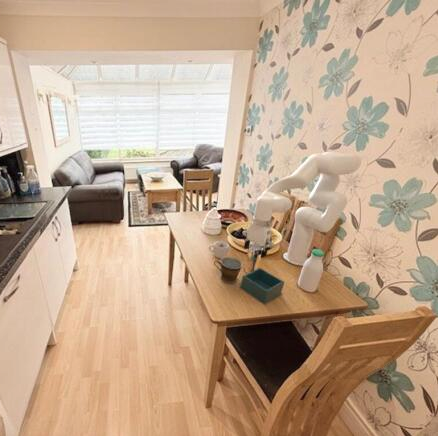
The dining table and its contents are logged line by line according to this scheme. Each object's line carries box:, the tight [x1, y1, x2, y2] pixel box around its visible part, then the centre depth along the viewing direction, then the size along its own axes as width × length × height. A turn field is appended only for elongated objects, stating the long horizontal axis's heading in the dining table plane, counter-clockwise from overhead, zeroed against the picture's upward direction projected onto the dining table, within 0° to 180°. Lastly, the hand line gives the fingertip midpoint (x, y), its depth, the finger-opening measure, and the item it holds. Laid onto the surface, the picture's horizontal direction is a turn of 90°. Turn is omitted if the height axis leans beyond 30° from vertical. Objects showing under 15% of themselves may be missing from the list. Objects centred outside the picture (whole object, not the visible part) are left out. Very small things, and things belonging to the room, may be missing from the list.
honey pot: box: [201, 206, 223, 236], centre depth 166 cm, size 13×13×18 cm
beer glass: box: [244, 243, 263, 274], centre depth 123 cm, size 7×7×15 cm
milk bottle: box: [297, 248, 325, 293], centre depth 110 cm, size 8×8×20 cm
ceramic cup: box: [213, 256, 243, 284], centre depth 118 cm, size 13×10×10 cm
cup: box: [208, 240, 230, 260], centre depth 138 cm, size 11×8×8 cm
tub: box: [240, 267, 285, 305], centre depth 111 cm, size 13×13×7 cm
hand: (254, 252), depth 121 cm, fingers open, 9 cm apart
